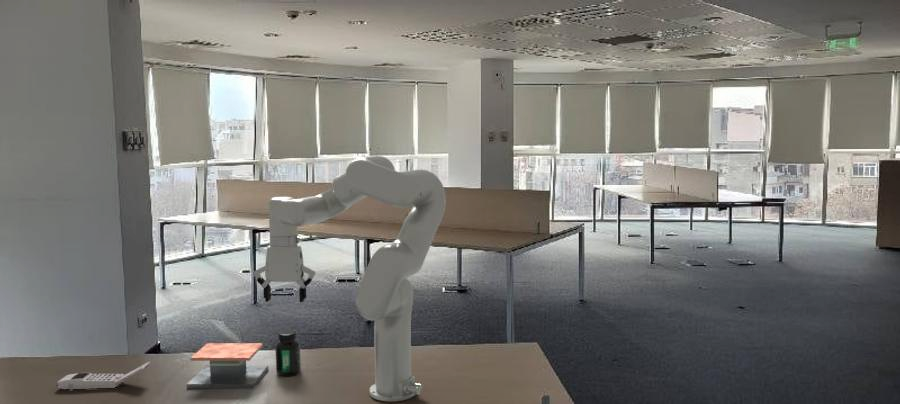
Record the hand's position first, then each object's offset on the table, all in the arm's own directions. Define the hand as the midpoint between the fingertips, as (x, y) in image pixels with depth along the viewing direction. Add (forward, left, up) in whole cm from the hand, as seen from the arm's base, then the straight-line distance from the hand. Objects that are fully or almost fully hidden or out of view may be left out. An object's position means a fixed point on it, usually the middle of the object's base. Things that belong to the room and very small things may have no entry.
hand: (285, 300), depth 190 cm
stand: (+11, +12, -21) cm, 27 cm away
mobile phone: (+36, +34, -22) cm, 54 cm away
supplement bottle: (0, 0, -21) cm, 21 cm away
